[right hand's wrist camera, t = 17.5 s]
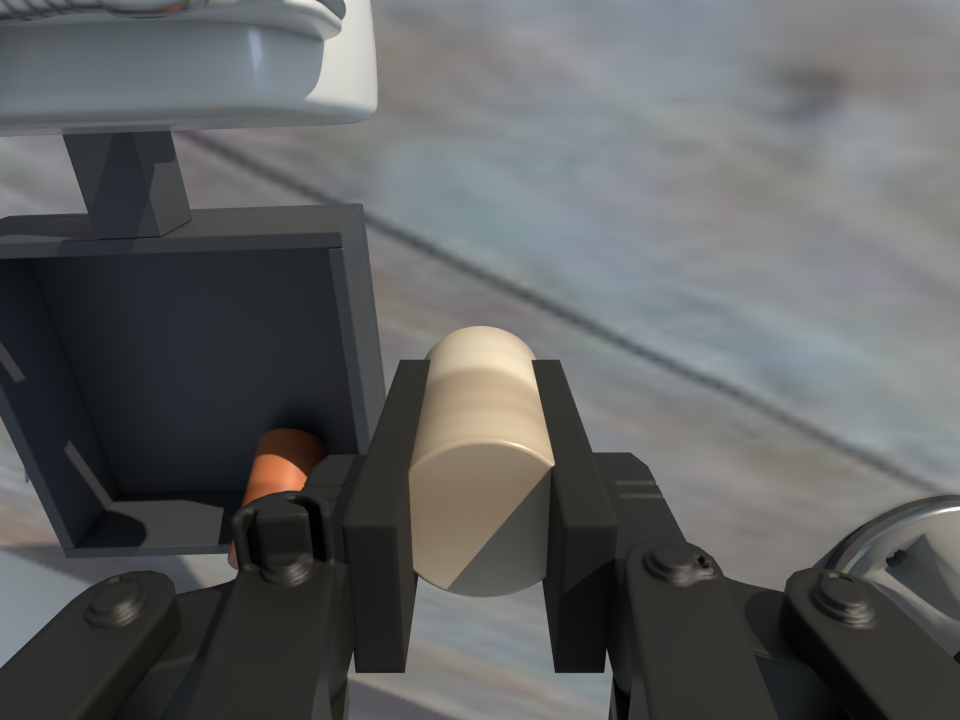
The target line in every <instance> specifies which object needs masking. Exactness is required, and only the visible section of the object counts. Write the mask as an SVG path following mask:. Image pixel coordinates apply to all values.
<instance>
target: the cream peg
mask: <svg viewBox="0 0 960 720" xmlns="http://www.w3.org/2000/svg"><path fill="white" fill-rule="evenodd" d="M425 360H430V366H429V372H428V377H427V383H426V389H425V393H424V398H423V403H422V408H421V413H420V418H419V423H418V427H417V432H416V437H415V442H414V447H413V452H412V457H411V461H410V466H409V492H410V512H411V532H412V552H413V570H414V572H415V573H416V574H417V575H418V576H420V577H421V578H422V579H424V580H425V581H427V582H428V583H430V584H432V585H434V586H436V587H438V588H440V589H442V590H445V591H448V592H451V593H454V594H458V595H463V596H470V597H496V596H502V595H508V594H511V593H515V592H518V591H521V590H523V589H526V588H528V587H530V586H532V585H534V584H536V583H538V582H539V581H541V580H542V579H544V578H545V577H546V566H547V545H548V525H549V505H550V484H551V467H552V466H554V465H555V462H554V457H553V453H552V449H551V444H550V440H549V436H548V431H547V427H546V423H545V418H544V414H543V409H542V405H541V401H540V396H539V392H538V388H537V383H536V379H535V375H534V370H533V366H532V361H531V360H536V358H535V356H534V354H533V353H532V351H531V350H530V348H529V347H528V346H527V345H526V344H525V343H524V342H523V341H521V340H520V339H519V338H518V337H516V336H514V335H513V334H511V333H509V332H506V331H504V330H501V329H498V328H494V327H488V326H475V327H468V328H463V329H460V330H457V331H455V332H453V333H451V334H449V335H447V336H445V337H444V338H442V339H441V340H440V341H439V342H438V343H436V344H435V345H434V346H433V348H432V349H431V350H430V351H429V353H428V354H427V356H426V357H425Z"/></svg>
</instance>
